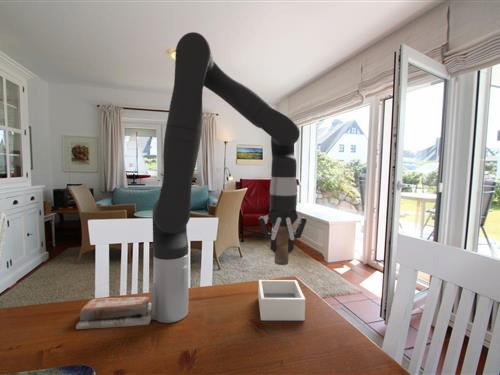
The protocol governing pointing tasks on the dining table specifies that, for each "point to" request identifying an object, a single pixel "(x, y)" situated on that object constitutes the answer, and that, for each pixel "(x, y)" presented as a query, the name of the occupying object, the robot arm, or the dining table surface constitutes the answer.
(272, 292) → the open box
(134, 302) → the packaged product
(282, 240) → the peg
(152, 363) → the dining table surface
